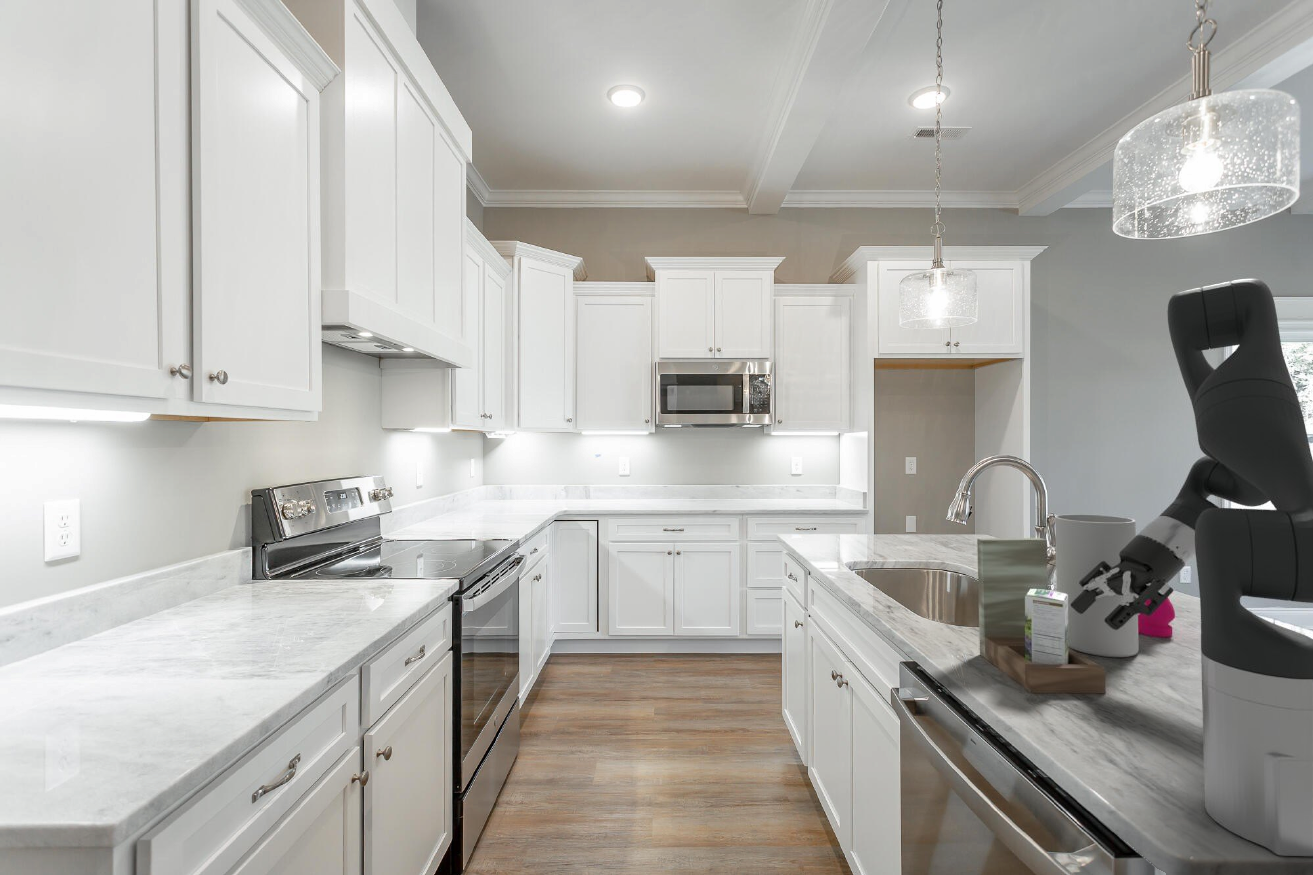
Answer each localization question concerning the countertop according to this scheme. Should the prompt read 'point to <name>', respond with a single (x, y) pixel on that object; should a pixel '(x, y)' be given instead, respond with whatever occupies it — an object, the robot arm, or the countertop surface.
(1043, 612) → the syrup box
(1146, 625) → the pepper mill
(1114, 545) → the cylinder vase
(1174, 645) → the countertop surface
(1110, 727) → the countertop surface
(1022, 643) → the wooden tray stand
